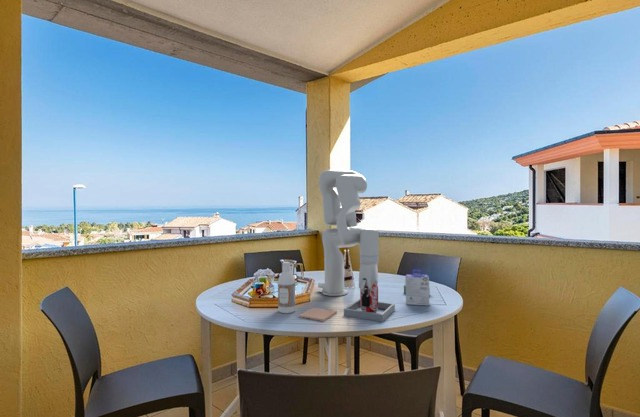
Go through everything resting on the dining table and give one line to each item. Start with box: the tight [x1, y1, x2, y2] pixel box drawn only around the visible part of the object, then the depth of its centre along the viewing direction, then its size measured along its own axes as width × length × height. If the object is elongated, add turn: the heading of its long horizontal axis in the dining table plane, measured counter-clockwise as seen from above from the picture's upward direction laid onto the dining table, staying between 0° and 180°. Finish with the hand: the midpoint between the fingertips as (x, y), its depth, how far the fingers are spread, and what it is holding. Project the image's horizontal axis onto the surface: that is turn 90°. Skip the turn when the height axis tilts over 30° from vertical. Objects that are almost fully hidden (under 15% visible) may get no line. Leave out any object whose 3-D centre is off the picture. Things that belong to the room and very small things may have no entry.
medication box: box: [403, 284, 431, 297], centre depth 164 cm, size 12×3×4 cm, turn 61°
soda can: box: [359, 282, 379, 313], centre depth 137 cm, size 7×7×12 cm
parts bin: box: [343, 298, 396, 323], centre depth 137 cm, size 16×16×2 cm
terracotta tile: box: [298, 307, 338, 322], centre depth 134 cm, size 11×11×1 cm
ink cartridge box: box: [405, 269, 430, 306], centre depth 148 cm, size 10×6×14 cm, turn 78°
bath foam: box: [277, 261, 296, 314], centre depth 140 cm, size 7×7×20 cm
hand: (369, 303), depth 137 cm, fingers closed on soda can, 7 cm apart
